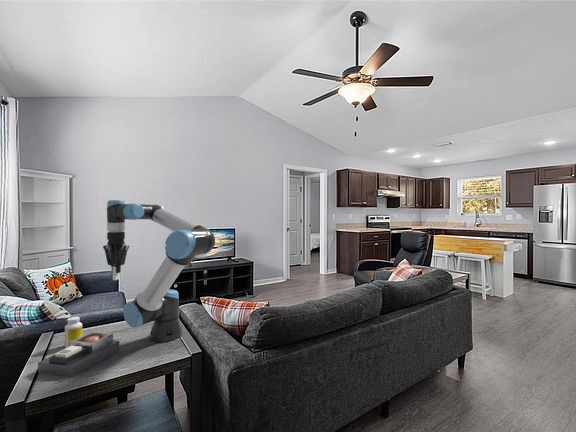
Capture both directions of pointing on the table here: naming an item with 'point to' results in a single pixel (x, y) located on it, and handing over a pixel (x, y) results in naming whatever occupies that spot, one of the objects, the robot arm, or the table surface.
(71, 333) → the supplement bottle
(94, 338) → the breaker button
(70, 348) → the on button
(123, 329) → the table surface
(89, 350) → the grey stepped block
